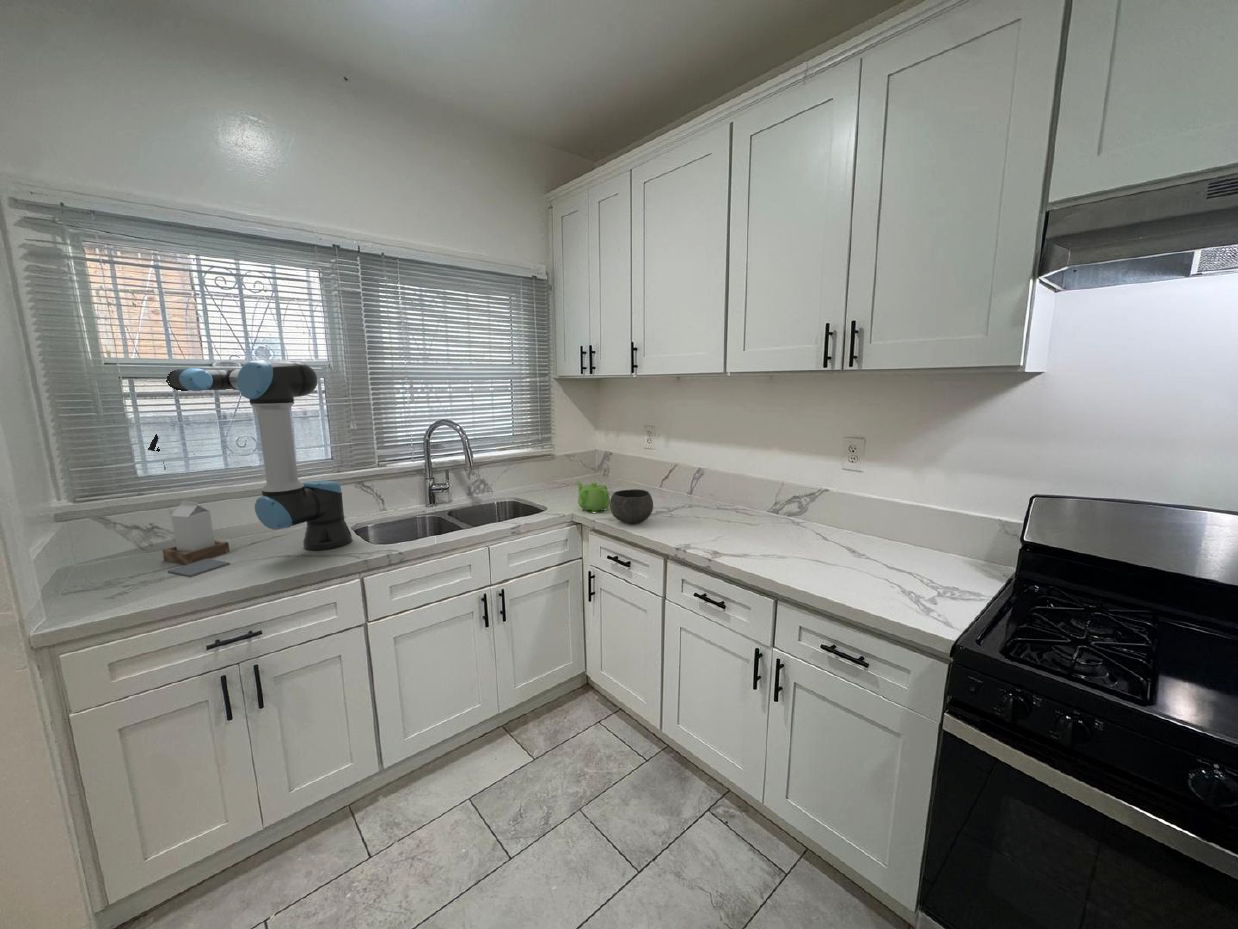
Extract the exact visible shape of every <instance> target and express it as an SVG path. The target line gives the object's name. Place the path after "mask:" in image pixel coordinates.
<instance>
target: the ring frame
mask: <svg viewBox="0 0 1238 929" xmlns="http://www.w3.org/2000/svg"><path fill="white" fill-rule="evenodd" d="M214 540H215V545H214V546H210V547H207V548H203V549H200V550H196V551H193V552H189V553H187V552H182V551H177V547H176V546H173V547H169V548H165V549H162V554H163V560H164V561H167V562H173V563H178V564H184V565H187V564H191V563H194V562H197V561H200V560H204V559H207V558H208V559H212V558H215V557H218V556H221V555H224V554H228V553H230V552H231V551H230V544H229V542H228V541H222V540H217V539H214Z"/></svg>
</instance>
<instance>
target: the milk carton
mask: <svg viewBox="0 0 1238 929" xmlns="http://www.w3.org/2000/svg"><path fill="white" fill-rule="evenodd" d="M179 503H180V505H179V506H178V507H177V508H176V509H175V510H174V511H173V513H171V515H170V517H171V523H172V530H173V535H174V541H175V545H176V547H177V551H182V552H187V553H189V552H193V551H196V550H200V549H203V548H207V547H210V546H214V545H215V540H216V539H215V536H214V528H213V522H212V516H211V515H212V514H211V511H210V510H208V509H206V508H205V507H202V505H201V504H200V503H199V502H198V501H188V500H187V501H182V500H180V501H179Z"/></svg>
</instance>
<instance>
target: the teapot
mask: <svg viewBox="0 0 1238 929" xmlns="http://www.w3.org/2000/svg"><path fill="white" fill-rule="evenodd" d="M575 482H576V483H577V485H578V498H577V503H578V505H579V507H580V508H581V509H582V510H587V511H588V510H589V511H591V513H592V512H597V513H598V511H602V510H601V509H606V510H607V508H609V507H610V500H611V497H610V494H609V491H608V487H607V486H606V485H605V484H602V485H601V484H598V482H595V481H594V482H590V484H586V485H584V486H583V484H582V483H581V481H579V480H575ZM582 510H581V511H582Z"/></svg>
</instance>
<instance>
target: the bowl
mask: <svg viewBox="0 0 1238 929" xmlns="http://www.w3.org/2000/svg"><path fill="white" fill-rule="evenodd" d="M609 509H610V513H611V514H612V516H613V517H614V518H615V519H616V520H618V521H619V522H621V523H625V524H627V523H628V524H627V525H637V524H636V523H638V524H641V523H643V522H644V521H646V520H648V519H649V517H650V516H651V514H652V513H653V509H654V500H653V498H652V494H651V493H650V492H649V491H647V490H645V489H637V488H634V489H622V490H617V491H615V492H613V493H612V495H611V497H610V504H609Z"/></svg>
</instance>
